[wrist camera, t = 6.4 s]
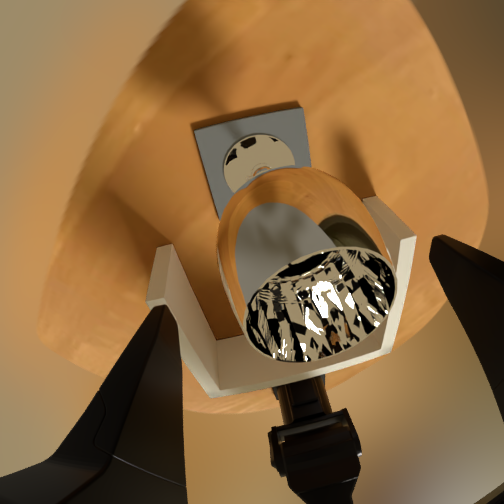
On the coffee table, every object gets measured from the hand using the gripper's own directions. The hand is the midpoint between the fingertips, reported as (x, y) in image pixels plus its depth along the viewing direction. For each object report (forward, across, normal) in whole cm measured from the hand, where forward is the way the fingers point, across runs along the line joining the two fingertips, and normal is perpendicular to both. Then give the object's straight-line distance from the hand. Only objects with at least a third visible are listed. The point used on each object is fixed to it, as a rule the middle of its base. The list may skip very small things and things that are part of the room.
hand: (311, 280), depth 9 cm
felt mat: (+11, 0, 0) cm, 11 cm away
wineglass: (+11, 0, 0) cm, 11 cm away
